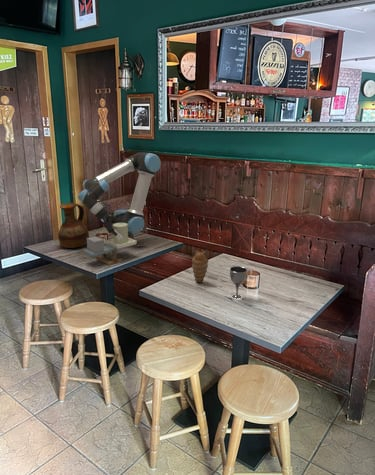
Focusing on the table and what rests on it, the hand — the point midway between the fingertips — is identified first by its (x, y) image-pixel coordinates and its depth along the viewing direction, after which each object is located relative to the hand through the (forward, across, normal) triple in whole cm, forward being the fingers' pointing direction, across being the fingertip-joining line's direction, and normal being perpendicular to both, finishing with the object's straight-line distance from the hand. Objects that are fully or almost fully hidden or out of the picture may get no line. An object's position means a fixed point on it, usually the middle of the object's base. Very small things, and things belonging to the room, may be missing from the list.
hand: (124, 235), depth 233 cm
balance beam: (0, +6, -10) cm, 12 cm away
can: (+2, 0, -5) cm, 5 cm away
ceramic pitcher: (-18, -17, -38) cm, 46 cm away
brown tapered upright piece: (+45, +33, +25) cm, 61 cm away
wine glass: (+59, +48, +39) cm, 86 cm away
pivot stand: (+4, +7, -16) cm, 18 cm away
